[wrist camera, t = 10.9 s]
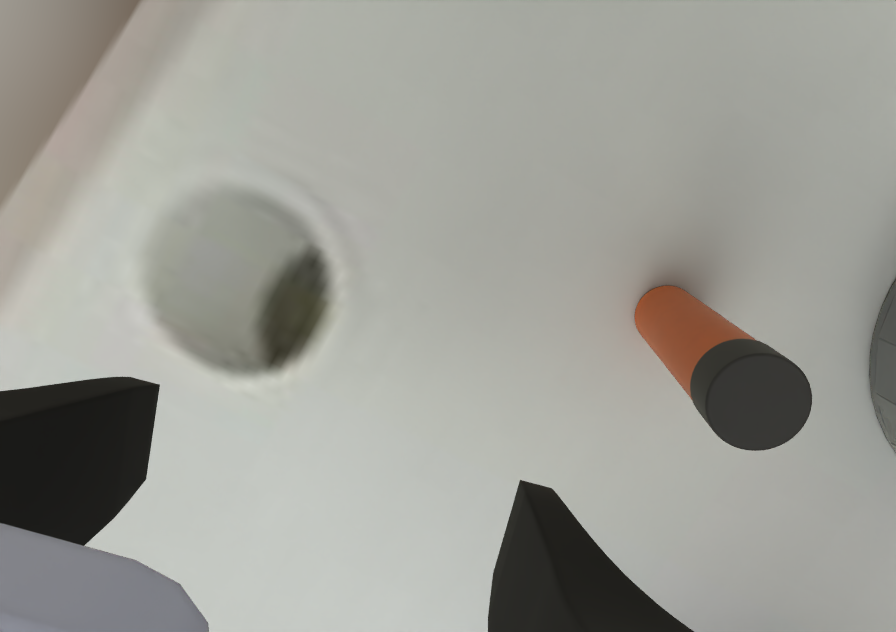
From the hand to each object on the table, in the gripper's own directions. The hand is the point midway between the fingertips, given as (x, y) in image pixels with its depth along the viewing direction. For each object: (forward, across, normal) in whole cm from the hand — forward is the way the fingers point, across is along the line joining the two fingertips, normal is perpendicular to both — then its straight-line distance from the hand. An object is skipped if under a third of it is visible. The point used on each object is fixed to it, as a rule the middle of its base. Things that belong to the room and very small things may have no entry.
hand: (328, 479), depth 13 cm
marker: (+10, -8, -3) cm, 13 cm away
